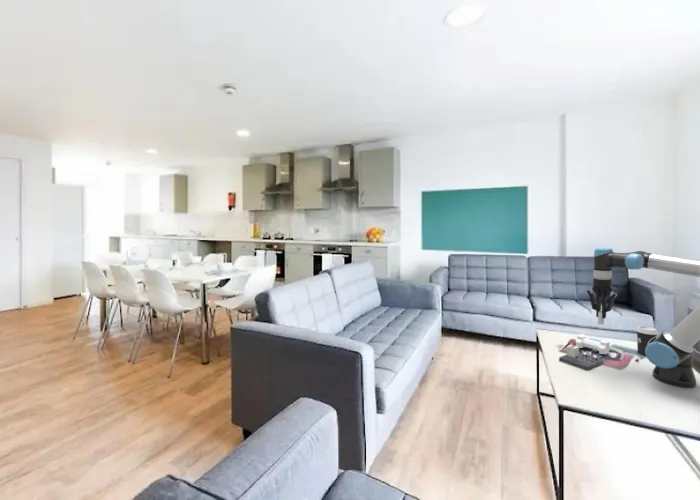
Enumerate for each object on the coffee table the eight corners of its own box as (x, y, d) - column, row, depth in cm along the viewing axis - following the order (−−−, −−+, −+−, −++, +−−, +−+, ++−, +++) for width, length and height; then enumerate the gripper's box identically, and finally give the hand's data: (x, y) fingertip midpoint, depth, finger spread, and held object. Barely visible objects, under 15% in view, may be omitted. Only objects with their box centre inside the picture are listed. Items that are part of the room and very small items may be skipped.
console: (603, 363, 183) (603, 357, 183) (587, 370, 175) (588, 364, 175) (574, 354, 195) (575, 348, 195) (559, 360, 187) (559, 354, 187)
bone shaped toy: (609, 354, 197) (611, 340, 197) (604, 356, 192) (605, 342, 192) (580, 346, 209) (581, 333, 209) (574, 348, 204) (575, 334, 204)
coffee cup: (647, 351, 200) (650, 325, 198) (660, 357, 190) (663, 331, 189) (630, 350, 201) (632, 325, 199) (642, 357, 191) (644, 330, 190)
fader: (578, 355, 188) (578, 346, 188) (574, 357, 186) (575, 347, 186) (570, 353, 192) (571, 344, 191) (566, 355, 190) (567, 345, 189)
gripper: (620, 279, 173) (619, 325, 175) (591, 276, 184) (590, 320, 186) (614, 280, 169) (612, 328, 171) (584, 277, 180) (583, 322, 182)
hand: (600, 324), depth 178 cm, fingers closed
